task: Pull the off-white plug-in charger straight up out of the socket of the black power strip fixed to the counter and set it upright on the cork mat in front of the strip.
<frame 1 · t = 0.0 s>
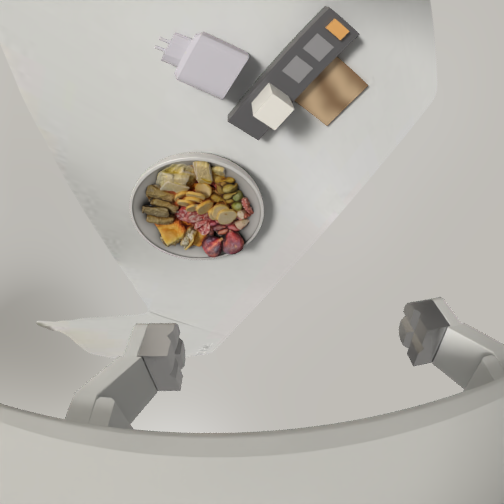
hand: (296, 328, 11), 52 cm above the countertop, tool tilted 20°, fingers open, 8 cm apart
power strip: (289, 70, 50), on the countertop
charger: (270, 99, 52), point 3 cm above the countertop, touching power strip
cork mat: (330, 90, 53), on the countertop
bowl: (197, 200, 73), on the countertop
charger 2: (198, 55, 47), on the countertop
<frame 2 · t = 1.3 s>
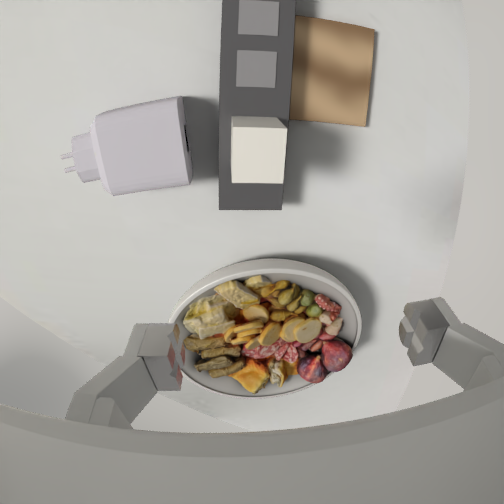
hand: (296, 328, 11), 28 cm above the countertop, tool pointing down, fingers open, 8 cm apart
power strip: (253, 81, 31), on the countertop
charger: (253, 140, 31), point 3 cm above the countertop, touching power strip
cork mat: (331, 71, 30), on the countertop
bowl: (262, 324, 51), on the countertop
charger 2: (126, 144, 33), on the countertop
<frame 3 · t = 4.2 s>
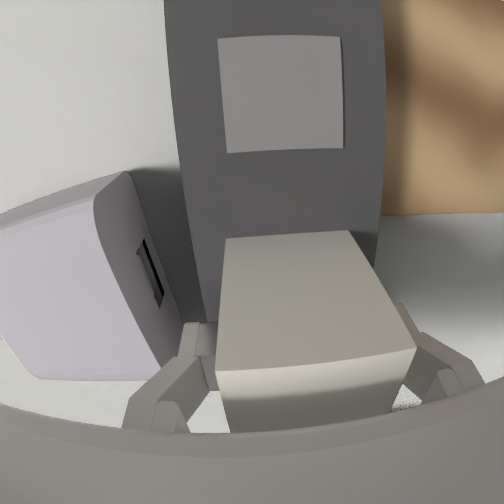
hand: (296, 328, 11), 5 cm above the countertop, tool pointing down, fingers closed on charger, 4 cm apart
power strip: (276, 125, 12), on the countertop
charger: (288, 290, 13), point 3 cm above the countertop, touching gripper, power strip
cork mat: (450, 92, 11), on the countertop
charger 2: (50, 272, 16), on the countertop
when the fingers open (6 cm above the countertop, at t = 11.4 s): charger drops 2 cm, resting on cork mat.
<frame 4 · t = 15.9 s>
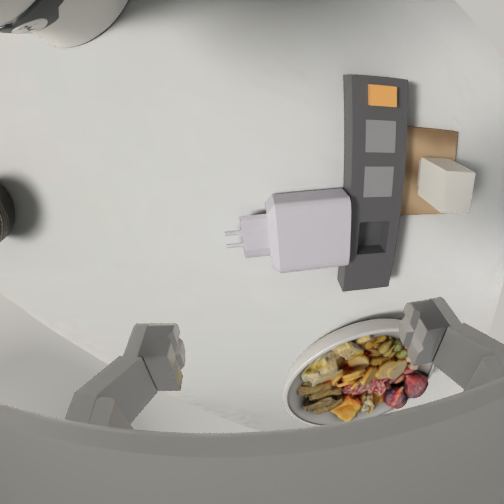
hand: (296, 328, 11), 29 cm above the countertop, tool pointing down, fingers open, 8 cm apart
power strip: (369, 185, 38), on the countertop
charger: (433, 176, 35), point 2 cm above the countertop, touching cork mat
cork mat: (425, 171, 37), on the countertop
bowl: (357, 367, 57), on the countertop
charger 2: (284, 224, 41), on the countertop
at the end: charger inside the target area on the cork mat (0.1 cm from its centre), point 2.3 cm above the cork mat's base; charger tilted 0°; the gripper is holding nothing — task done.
